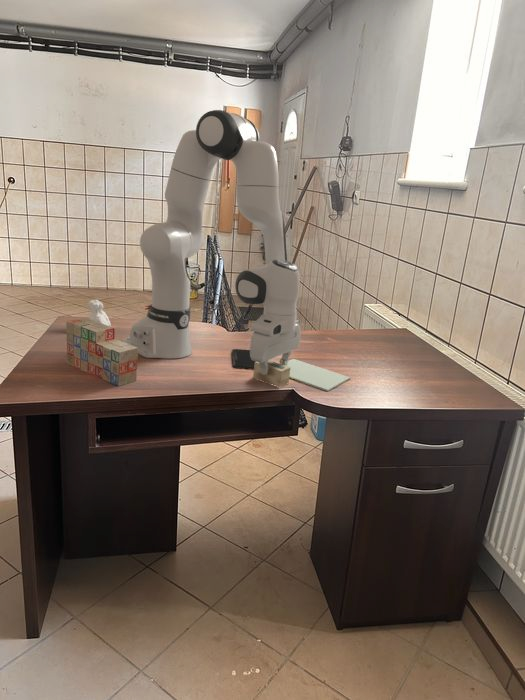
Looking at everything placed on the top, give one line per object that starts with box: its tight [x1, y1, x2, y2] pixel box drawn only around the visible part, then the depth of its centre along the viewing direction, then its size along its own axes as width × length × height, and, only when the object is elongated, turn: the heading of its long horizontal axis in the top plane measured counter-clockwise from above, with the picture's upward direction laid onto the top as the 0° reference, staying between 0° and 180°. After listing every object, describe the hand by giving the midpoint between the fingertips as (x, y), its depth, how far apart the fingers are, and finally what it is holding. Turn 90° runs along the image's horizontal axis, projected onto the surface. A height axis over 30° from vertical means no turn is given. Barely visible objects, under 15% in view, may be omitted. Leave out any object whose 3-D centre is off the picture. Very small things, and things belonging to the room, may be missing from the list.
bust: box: [86, 299, 112, 327], centre depth 170 cm, size 12×8×11 cm
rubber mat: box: [286, 358, 351, 392], centre depth 152 cm, size 20×14×1 cm
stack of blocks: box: [65, 317, 139, 387], centre depth 136 cm, size 21×6×12 cm, turn 55°
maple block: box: [252, 359, 290, 388], centre depth 144 cm, size 9×4×5 cm, turn 55°
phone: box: [231, 348, 256, 370], centre depth 158 cm, size 8×1×15 cm
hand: (274, 369), depth 143 cm, fingers open, 8 cm apart
